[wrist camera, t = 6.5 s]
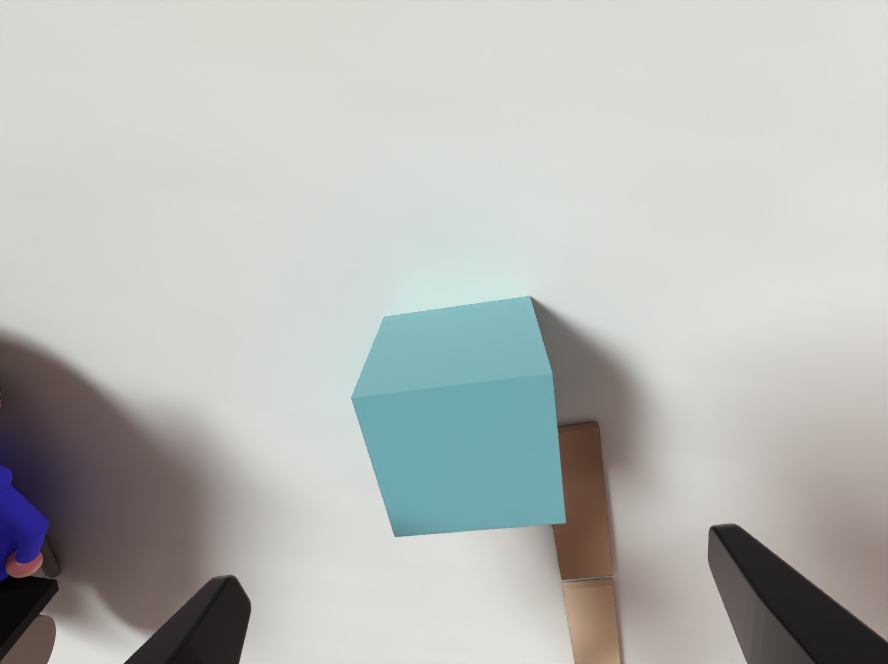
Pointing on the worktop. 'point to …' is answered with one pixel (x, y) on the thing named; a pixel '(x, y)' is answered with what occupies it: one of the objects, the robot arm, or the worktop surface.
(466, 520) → the teal cube
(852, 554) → the worktop surface
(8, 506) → the figurine character
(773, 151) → the worktop surface
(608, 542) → the brown segmented strip
